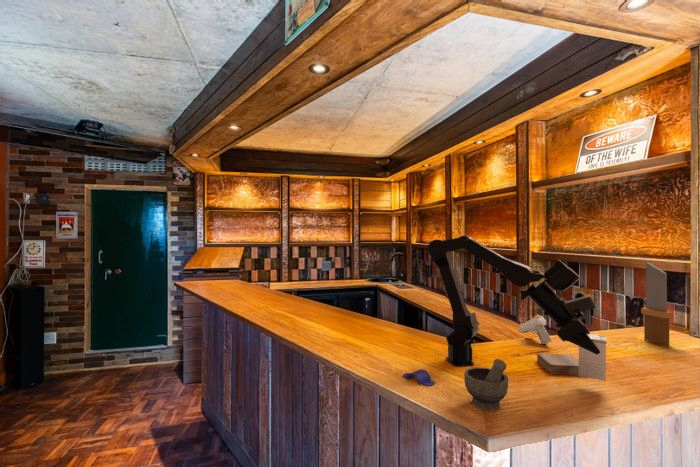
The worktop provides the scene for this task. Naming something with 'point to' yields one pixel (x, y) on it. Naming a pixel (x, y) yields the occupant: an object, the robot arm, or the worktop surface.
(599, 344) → the tin
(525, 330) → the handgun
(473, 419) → the worktop surface
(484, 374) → the mortar and pestle
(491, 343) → the worktop surface
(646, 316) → the knife
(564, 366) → the block
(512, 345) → the worktop surface
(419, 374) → the blue animal figurine
